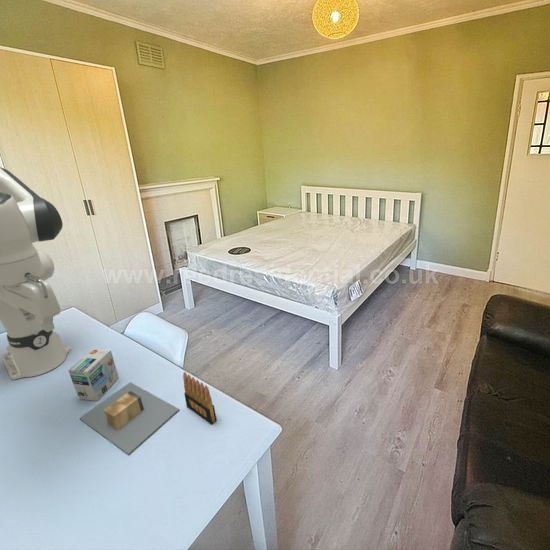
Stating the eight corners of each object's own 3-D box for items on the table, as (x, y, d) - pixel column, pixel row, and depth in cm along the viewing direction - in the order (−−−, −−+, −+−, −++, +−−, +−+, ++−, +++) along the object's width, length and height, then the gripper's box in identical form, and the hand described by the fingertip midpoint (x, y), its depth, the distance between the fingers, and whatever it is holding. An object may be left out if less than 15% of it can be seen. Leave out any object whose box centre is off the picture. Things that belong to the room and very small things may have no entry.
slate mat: (79, 419, 90) (79, 417, 89) (130, 383, 102) (130, 382, 102) (128, 455, 78) (128, 453, 78) (179, 410, 91) (179, 409, 90)
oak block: (103, 410, 86) (130, 390, 92) (107, 422, 87) (133, 403, 93) (113, 416, 83) (140, 396, 89) (117, 429, 85) (143, 409, 91)
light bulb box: (97, 402, 95) (87, 372, 91) (77, 399, 97) (66, 370, 93) (120, 377, 105) (111, 349, 101) (102, 375, 106) (92, 347, 102)
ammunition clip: (217, 420, 87) (211, 384, 82) (211, 424, 85) (205, 389, 81) (191, 402, 93) (185, 368, 88) (186, 406, 92) (179, 372, 87)
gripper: (57, 272, 68) (76, 329, 73) (14, 258, 78) (34, 309, 84) (23, 284, 63) (46, 344, 69) (-18, 267, 74) (5, 320, 79)
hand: (39, 324), depth 76 cm, fingers open, 8 cm apart
